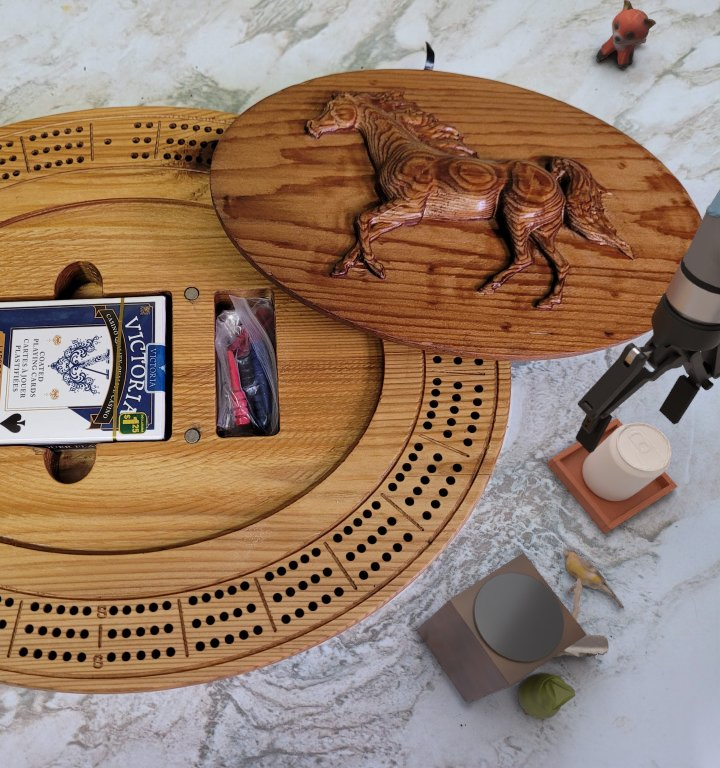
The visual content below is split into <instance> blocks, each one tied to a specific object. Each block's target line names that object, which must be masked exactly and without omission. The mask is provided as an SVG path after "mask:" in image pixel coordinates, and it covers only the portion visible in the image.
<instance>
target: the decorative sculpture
mask: <svg viewBox="0 0 720 768" xmlns="http://www.w3.org/2000/svg"><path fill="white" fill-rule="evenodd" d="M562 554H563V556H564V557H565V558H564V560H565V561H564V562H565V567H566V571H567V572H568V573H569V575H570V576H572V577H574V579H576V580H575V582H574V583H573V585H572V586H571V587H569V588H568V589H567V594H571V593H573V595H574V600H573V608H572V612H571V615H572V616H573V617H574V619H575V620H576V621H577V622H578V615H579V612H580V601H581V592H582V591H583V586H587V587H589V588H590V589H592V590H598V591H600V592H602V593H604V594H607V595H609V597H610V598H612V599H613V600H614V601H615V603H617V605H618V607H619V609H623V610H625V606H624V605H623V604H622V602H621V601H620V599H619V598H618V596H617V595H616V593H615V592H614V591H613V590H612V589H611V588H610V586H609V584H608V583H607V581H606V579H605V577H604V576H603V575H602V573H601V572H600V571H599V570H598V569H597V567H596V566H595V565H594V563H592V562H591V561H589V560H588V559H586V558H584V557H581V556H579V554H578V552H577V551H575V550H572V549H570V548H568V549H565V550H564V551H563V552H562ZM609 645H610V644H609V640H608V638H607V636H605V635H602V634H601V635H599V634H598V635H597V634H596V635H595V634H587V635H586V636H584V637H583V638H581V639H580V640H578V641H577V642H575V643H574V644H573V645H571V646H570V647H568V648H567V649H565V650H564V651H562V652H561V653H559V654H558V655H556V656H555V657H562V656H567V657H569V656H575V657H578V658H582V657H585V658H590V657H591V658H592V657H594V658H596V656H604V655H605V654H608V652H609V648H610V646H609Z"/></svg>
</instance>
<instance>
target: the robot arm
mask: <svg viewBox="0 0 720 768" xmlns="http://www.w3.org/2000/svg"><path fill="white" fill-rule="evenodd" d="M657 303H658V304H657V305H656V307H655V308H654V311H653V313H652V315H651V319H650V322H651V327H652V335H651V337H650V338H649V339H648V340H647V341H646V343H645V344H644V345H643V346H637V345H636V344H635V343H634V342H629V343H628V344H626V346H625V347H624V348H623V350H622V352H621V353H620V354H619V356H618V358H617V359H616V360H615V362H613V364H612V365H610V367H609V368H608V369H607V370H606V371H605V372H604V373H603V375H601V376H600V378H599V379H598V380H597V381H596V382H595V383H594V384H593V385H592V386H591V388H590V389H588V390H587V392H586V393H585V394H584V395H583V396H582V398H581V399H579V400H578V402H577V406H578V407H579V408H580V410H582V411H583V412H584V414H585V417H584V418H583V420H582V422H581V425H580V427H579V430H578V431H577V433H576V435H575V440H577V442H579V443H580V444H581V445H582V446H583V447H584V448H585V449H586V450H587V451H588V452H589V453H591V452H594V450H595V449H596V447H597V445H598V443H599V441H600V439H601V438H602V436H603V434H604V432H605V430H606V428H607V427H608V425H609V423H610V422H611V421H612V420H613V416H612V413H613V412H614V411H615V410H616V409H618V408H619V407H620V406H622V404H624V403H625V402H627V400H628V399H629V398H631V397H632V396H633V395H634V394H635V393H636V392H637V391H639V390H640V389H642V387H643V386H645V385H646V384H647V383H648V382H655V381H657V380H658V379H660V377H662V376H663V375H664V374H665V373H667V372H668V371H670V370H673V369H678V368H681V367H683V370H684V371H685V374H680V375H679V376H678V378H677V379H676V381H675V383H674V384H673V386H672V388H671V389H670V391H669V393H668V394H667V396H666V398H665V399H664V401H663V403H662V405H661V406H660V407H659V409H658V411H659V412H660V413H661V414H662V415H663V416H664V417H665V418H666V419H667V420H668V421H669V422H670V423H671V424H672V425H678V424H679V423H680V421H681V419H682V418H683V416H684V415H685V413H686V411H687V410H688V408H689V407H690V405H691V404H692V402H693V401H694V399H695V397H696V396H697V394H698V393H699V391H700V390H701V388H702V389H703V390H704V391H709V390H711V389H712V388H713V387H714V382H712V381H711V380H710V379H714V380H718V379H719V378H720V189H718V191H717V193H716V195H714V198H713V200H712V201H711V202H710V204H709V205H707V206H706V209H705V213H704V215H703V217H702V219H701V222H700V223H699V226H698V228H697V230H696V232H695V234H694V236H693V238H692V240H691V242H690V244H689V246H688V248H687V250H686V252H685V253H684V255H683V257H682V258H681V260H680V261H679V263H678V267H677V268H676V271H675V273H674V274H673V276H672V278H671V280H670V282H669V283H668V285H667V287H666V290H665V292H664V293H663V294H662V295H661V297H660V299H659V301H658V302H657ZM647 365H648V366H650V367H651V368H652V369H653V370H652V371H650V370H649V369H648V368H647ZM686 374H687V375H688V376H687V375H686Z"/></svg>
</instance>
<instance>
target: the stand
mask: <svg viewBox="0 0 720 768" xmlns="http://www.w3.org/2000/svg"><path fill="white" fill-rule="evenodd" d="M504 573H521V574H525V575H528V576H531V577H533V578H535V579H537V580H538V581H540V582H541V583H543V584H544V585H545V586H546V587H547V588H548V589H549V590H550V591H551V592H552V593H553V595H554V596H555V597H556V599H557V601H558V603H559V605H560V607H561V610H562V614H563V620H564V629H563V634H562V638H561V640H560V642H559V644H558V646H557V647H556V648H555V650H554V651H553V652H552V653H550V654H549V655H548V656H546V657H544V658H542V659H540V660H537V661H533V662H516V661H512V660H509V659H506V658H504V657H502V656H500V655H498V654H497V653H495V652H494V651H493V650H492V649H491V648H490V647H488V646H487V644H486V643H485V642H484V641H483V639H482V638H481V636H480V635H479V633H478V630H477V628H476V625H475V622H474V616H473V606H474V601H475V598H476V595H477V593H478V591H479V590H480V588H481V587H482V586H483V585H484V584H485V583H486V582H487V581H488V580H489V579H491V578H493V577H495V576H497V575H500V574H504ZM571 614H572V612H570V611H569V610H568V608H567V607H566V605H565V604H564V603H563V601H562V600H561V599H560V598H559V596H558V595H557V594H556V592H555V591H554V590H553V589H552V587H551V586H550V584H549V583H548V582H547V581H546V580H545V578H544V577H543V576H542V574H541V573H540V571H539V570H538V569H537V567H535V565H534V564H533V563H532V561H531V560H530V559H529V557H528V555H526V554H525V552H522V553H520V554H519V555H518V556H516V557H515V558H513V559H511V560H510V561H508V562H506V563H505V564H503V565H502V566H500V567H499V568H497V569H495V570H494V571H492V572H490V573H489V574H488V575H485V576H484V577H482V578H481V579H480V580H478V581H476V582H475V583H474V584H472V585H470V586H469V587H467V588H466V589H464V590H463V591H461V592H459V593H457V594H456V595H455V596H453V597H451V598H450V599H448V600H447V601H446V602H445V603H444V604H442V606H441V607H439V608H438V609H437V610H436V611H435V612H434V613H433V614H432V615H431V616H430V617H429V618H428V619H426V620H425V621H424V622H423V623H422V624H420V625H419V627H417V629H416V632H417V633H418V634H419V636H420V637H421V639H422V640H423V642H424V643H425V645H426V647H428V649H429V651H430V652H431V654H432V655H433V656H434V658H435V659H436V661H437V662H438V664H439V665H440V667H441V669H442V670H443V671H444V673H445V675H446V676H447V677H448V679H449V680H450V682H451V683H452V685H453V686H454V687H455V689H456V691H457V692H458V694H459V695H460V697H461V698H462V699H463V701H464V702H465V704H467V703H470V702H473V701H476V700H478V699H481V698H484V697H486V696H489V695H491V694H494V693H497V692H500V691H501V690H504V689H507V688H510V687H512V686H513V685H515V684H516V683H517V682H519V681H521V680H522V679H525V677H527V676H528V675H529V674H531V673H533V672H534V671H535V670H537V669H539V668H540V667H541V666H543V665H545V664H546V663H547V662H548V661H549V662H550V660H552V659H553V658H555V657H557V656H556V655H558V654H559V653H561V652H562V651H564V650H565V649H567V648H568V647H570V646H571V645H573V644H574V643H575V642H577V641H578V640H580V639H581V638H583V637H584V636H586V635H588V634H587V633H586V631H585V630H584V628H583V627H582V626H581V625H580V623H579V622H578V620H577V621H576V620H575V619H574V617H573V616H572V615H571Z"/></svg>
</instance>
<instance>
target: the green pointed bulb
mask: <svg viewBox="0 0 720 768" xmlns="http://www.w3.org/2000/svg"><path fill="white" fill-rule="evenodd" d="M575 697H576V691H575V689H574V687H572V686H570V685H569V684H568V683H567V682H566V681H565V679H563V678H562V677H561V676H559V675H556V674H551V673H550V672H549V673H548V672H537V673H534V674H531V675H529V676H526V678H523V680H522V681H521V682H520V684H519V686H518V688H517V700H518V703H519V704H520V706H521V708H522V709H523V711H524V712H525V713H527V714H528V715H529V716H531V717H533V718H535V719H538V720H546V719H550V718H552V717H555V715H556V714H558V712H559V711H560V710H561V708H562V706H564V705H565V704H567V703H568V702H569V701H571V700H572V699H573V698H575Z"/></svg>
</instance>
